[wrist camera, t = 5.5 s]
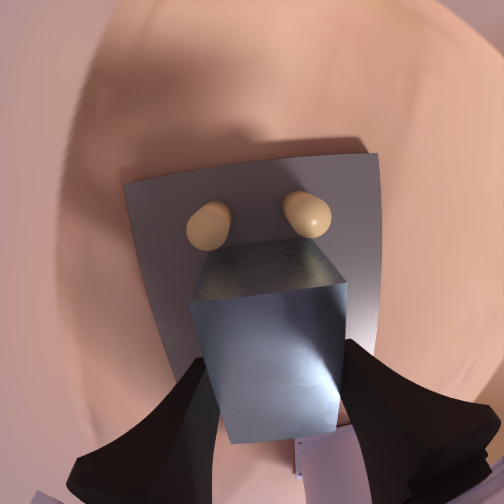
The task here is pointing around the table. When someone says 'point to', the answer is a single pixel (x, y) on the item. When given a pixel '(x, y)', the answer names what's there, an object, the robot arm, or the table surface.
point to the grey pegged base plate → (257, 232)
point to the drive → (272, 338)
